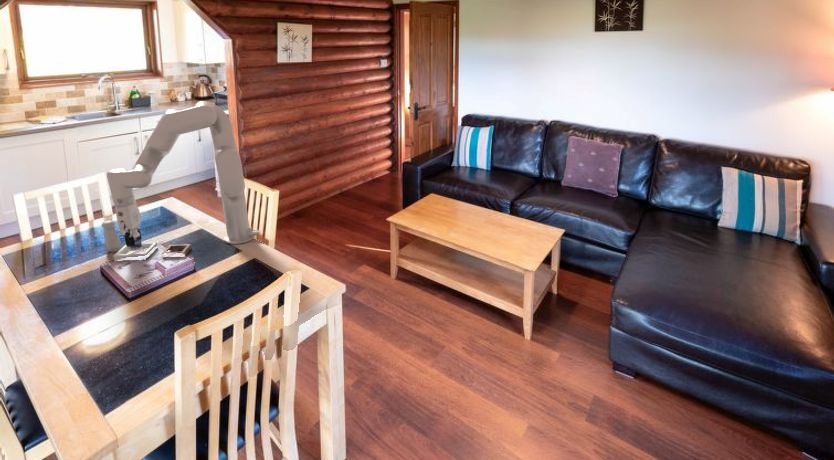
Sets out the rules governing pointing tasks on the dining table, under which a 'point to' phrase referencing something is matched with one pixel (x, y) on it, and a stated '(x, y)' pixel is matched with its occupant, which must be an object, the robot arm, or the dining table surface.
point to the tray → (126, 253)
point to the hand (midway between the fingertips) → (134, 242)
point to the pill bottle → (137, 241)
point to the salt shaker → (111, 237)
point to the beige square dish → (178, 248)
